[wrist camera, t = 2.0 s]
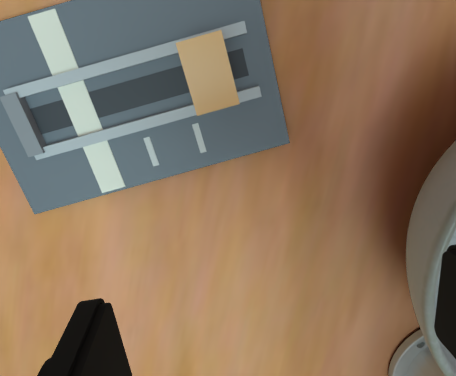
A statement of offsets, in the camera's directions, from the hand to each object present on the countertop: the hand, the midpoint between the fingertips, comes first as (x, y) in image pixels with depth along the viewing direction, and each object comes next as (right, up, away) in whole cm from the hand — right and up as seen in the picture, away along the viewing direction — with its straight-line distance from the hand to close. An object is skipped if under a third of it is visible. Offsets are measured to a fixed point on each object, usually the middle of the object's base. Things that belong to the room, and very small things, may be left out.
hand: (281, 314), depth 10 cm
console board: (-9, +11, +18) cm, 23 cm away
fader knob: (-3, +12, +16) cm, 20 cm away
